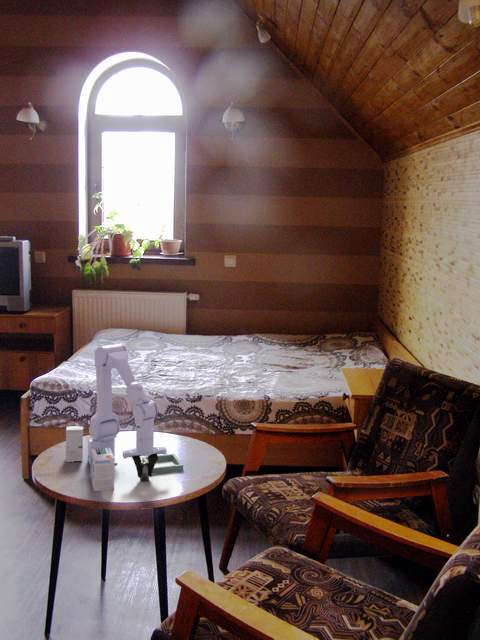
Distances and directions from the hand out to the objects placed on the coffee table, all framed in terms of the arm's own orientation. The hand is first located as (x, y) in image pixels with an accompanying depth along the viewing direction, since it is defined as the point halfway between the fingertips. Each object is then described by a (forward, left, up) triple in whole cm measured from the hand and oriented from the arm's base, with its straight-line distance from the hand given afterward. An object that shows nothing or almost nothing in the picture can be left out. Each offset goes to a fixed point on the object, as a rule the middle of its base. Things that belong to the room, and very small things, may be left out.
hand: (144, 476), depth 222 cm
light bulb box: (-14, +1, -2) cm, 14 cm away
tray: (+9, +11, -2) cm, 14 cm away
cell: (0, 0, -2) cm, 2 cm away
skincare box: (-20, +26, -2) cm, 33 cm away
